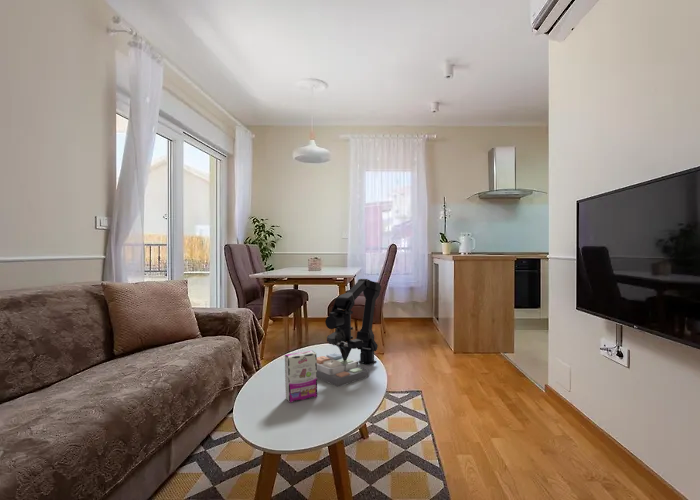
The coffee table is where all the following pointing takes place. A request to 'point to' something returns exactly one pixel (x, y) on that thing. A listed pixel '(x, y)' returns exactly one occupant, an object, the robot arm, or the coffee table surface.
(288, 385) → the candy bar box
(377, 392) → the coffee table surface
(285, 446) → the coffee table surface
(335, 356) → the slate key
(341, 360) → the sage key
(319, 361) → the peach flat square block
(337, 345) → the robot arm
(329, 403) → the coffee table surface
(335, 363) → the cream key
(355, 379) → the keypad
